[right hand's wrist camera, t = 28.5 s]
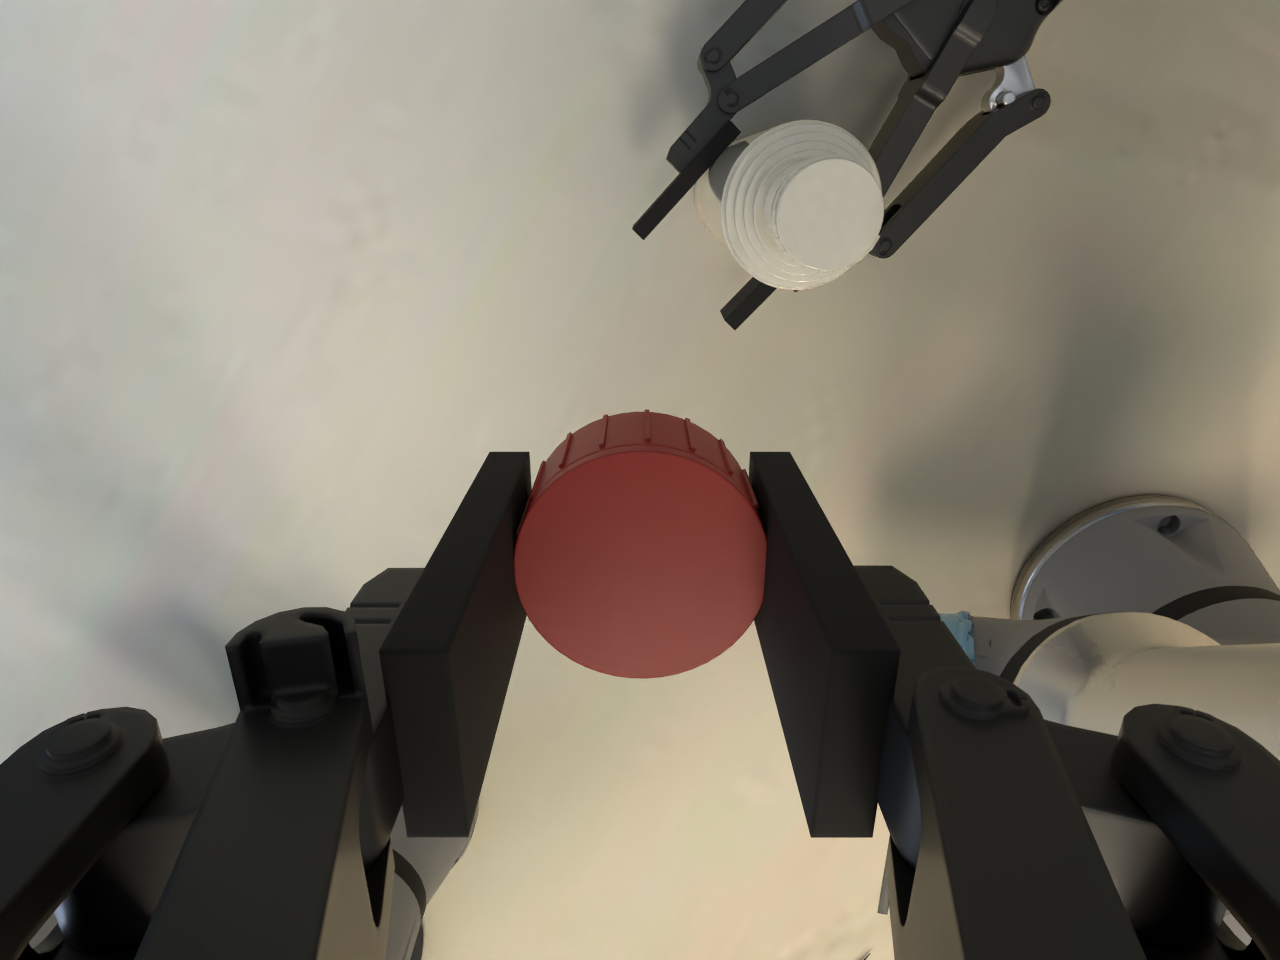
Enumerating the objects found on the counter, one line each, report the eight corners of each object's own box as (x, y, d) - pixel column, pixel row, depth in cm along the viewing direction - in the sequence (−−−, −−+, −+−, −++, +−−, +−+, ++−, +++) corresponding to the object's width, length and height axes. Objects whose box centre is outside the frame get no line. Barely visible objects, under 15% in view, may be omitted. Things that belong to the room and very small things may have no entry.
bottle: (676, 215, 43) (699, 256, 22) (726, 119, 41) (801, 68, 20) (759, 263, 44) (855, 344, 23) (812, 172, 42) (968, 173, 21)
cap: (801, 509, 15) (827, 564, 12) (646, 650, 16) (647, 722, 14) (635, 358, 13) (634, 391, 11) (483, 523, 15) (457, 580, 13)
